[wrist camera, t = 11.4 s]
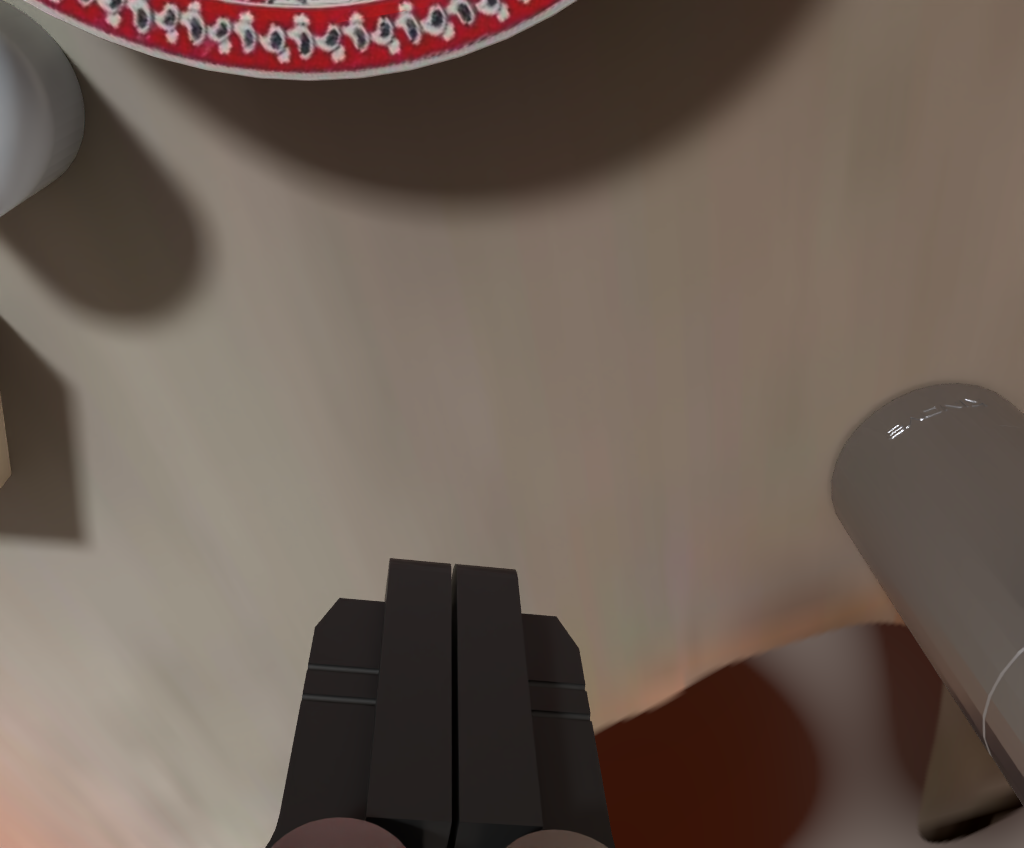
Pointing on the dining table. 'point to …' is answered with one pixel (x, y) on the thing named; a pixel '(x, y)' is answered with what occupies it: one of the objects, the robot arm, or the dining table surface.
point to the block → (3, 450)
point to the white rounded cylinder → (34, 109)
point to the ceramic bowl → (304, 32)
